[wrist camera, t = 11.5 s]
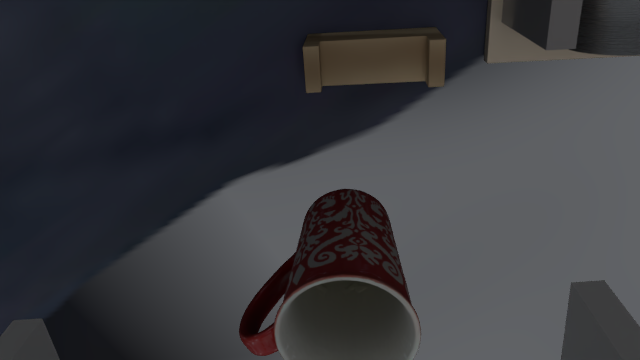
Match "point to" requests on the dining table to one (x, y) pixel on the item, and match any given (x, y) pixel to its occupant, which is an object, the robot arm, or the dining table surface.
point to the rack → (374, 57)
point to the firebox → (533, 31)
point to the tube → (609, 28)
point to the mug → (338, 289)
